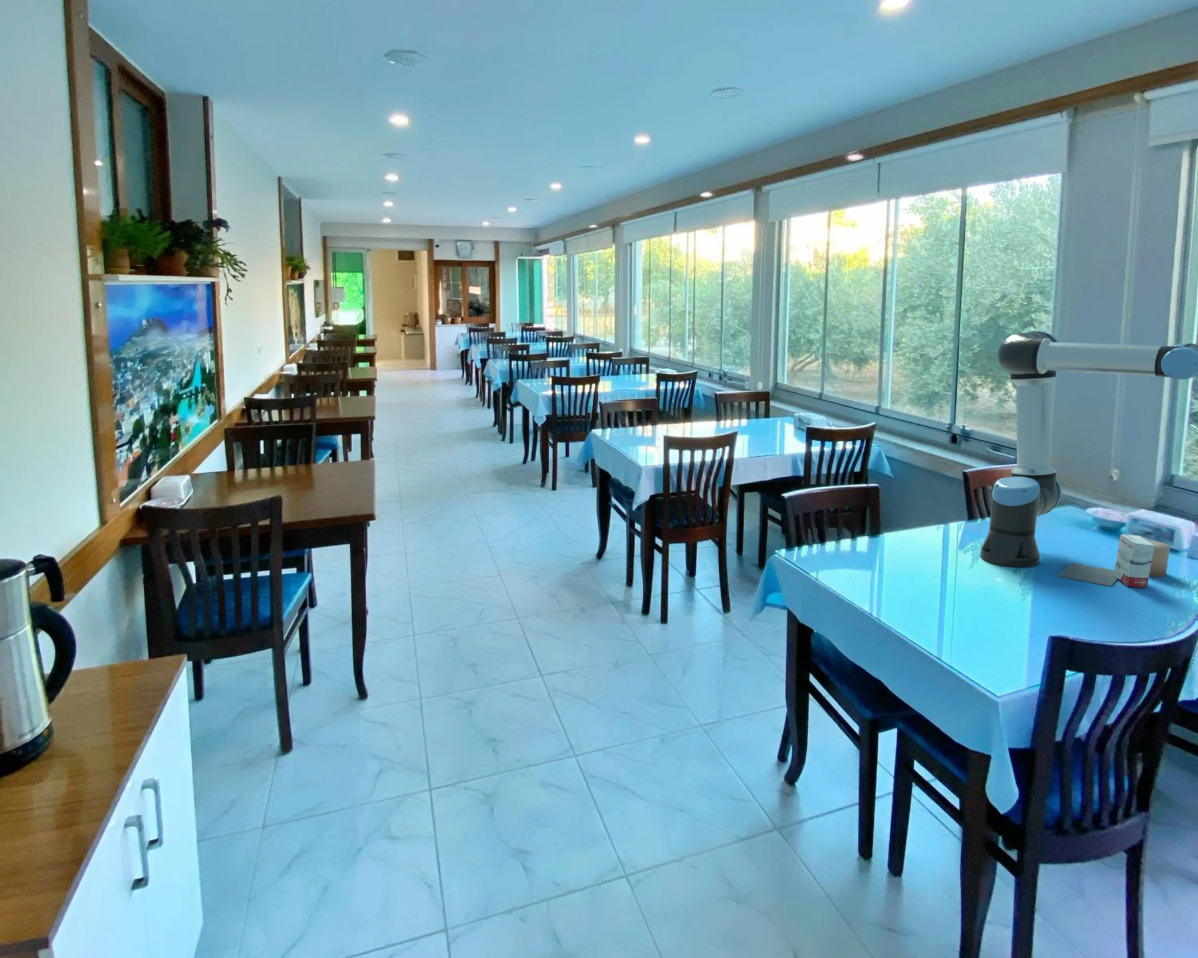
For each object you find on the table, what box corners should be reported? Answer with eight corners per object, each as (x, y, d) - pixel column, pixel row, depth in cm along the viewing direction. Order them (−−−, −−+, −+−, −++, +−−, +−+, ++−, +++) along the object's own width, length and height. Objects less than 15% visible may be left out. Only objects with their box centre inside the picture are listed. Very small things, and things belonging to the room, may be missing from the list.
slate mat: (1057, 576, 208) (1057, 575, 208) (1071, 563, 218) (1071, 562, 218) (1111, 586, 200) (1111, 585, 200) (1123, 573, 210) (1123, 571, 209)
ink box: (1148, 588, 198) (1156, 545, 195) (1127, 586, 199) (1135, 543, 196) (1132, 576, 206) (1140, 534, 203) (1112, 574, 207) (1120, 533, 204)
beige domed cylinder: (1132, 573, 209) (1135, 545, 208) (1137, 566, 214) (1141, 539, 212) (1163, 578, 205) (1167, 550, 203) (1168, 572, 209) (1172, 544, 208)
